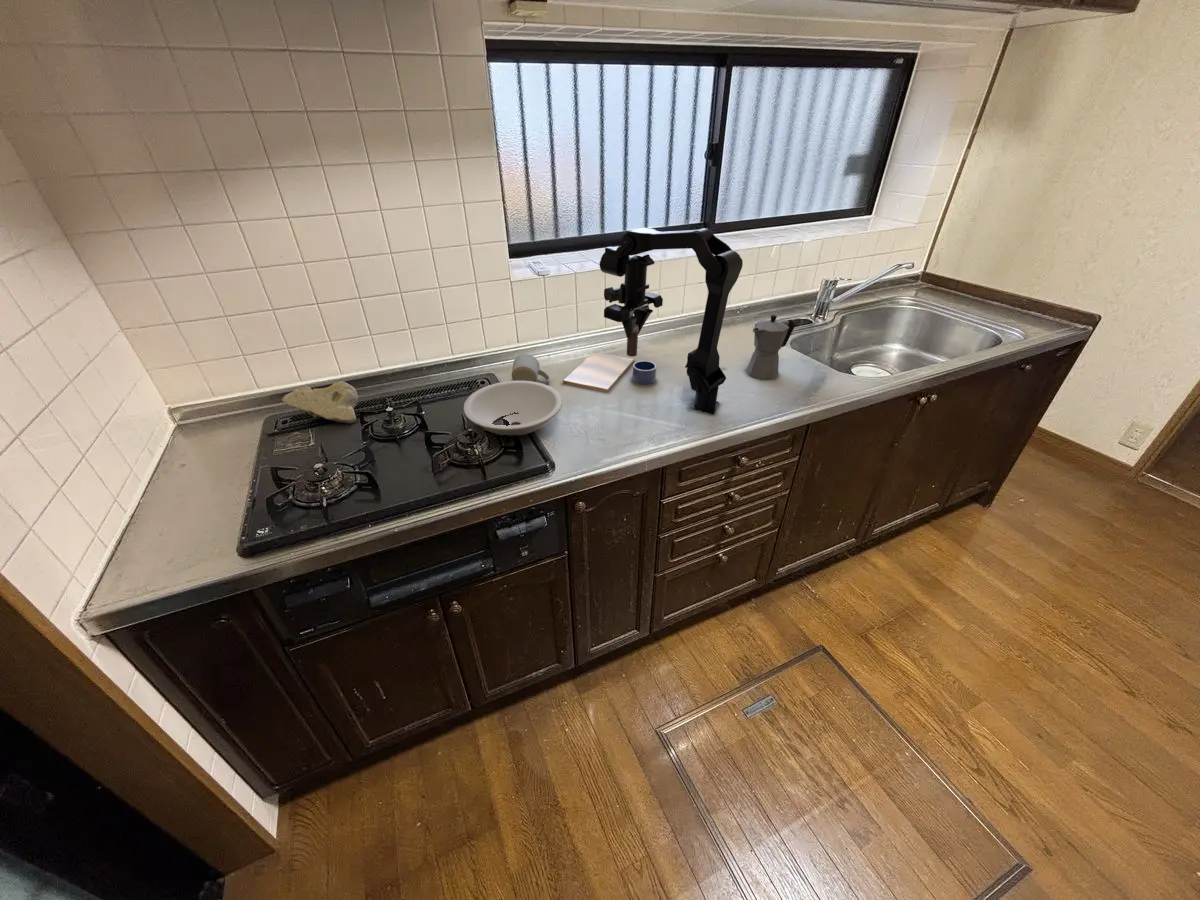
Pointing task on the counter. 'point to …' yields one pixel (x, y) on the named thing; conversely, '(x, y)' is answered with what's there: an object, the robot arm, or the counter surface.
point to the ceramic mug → (528, 369)
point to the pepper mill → (633, 342)
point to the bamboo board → (599, 371)
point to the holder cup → (644, 372)
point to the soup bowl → (513, 406)
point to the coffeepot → (768, 347)
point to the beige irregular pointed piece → (326, 401)
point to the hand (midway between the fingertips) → (632, 336)
